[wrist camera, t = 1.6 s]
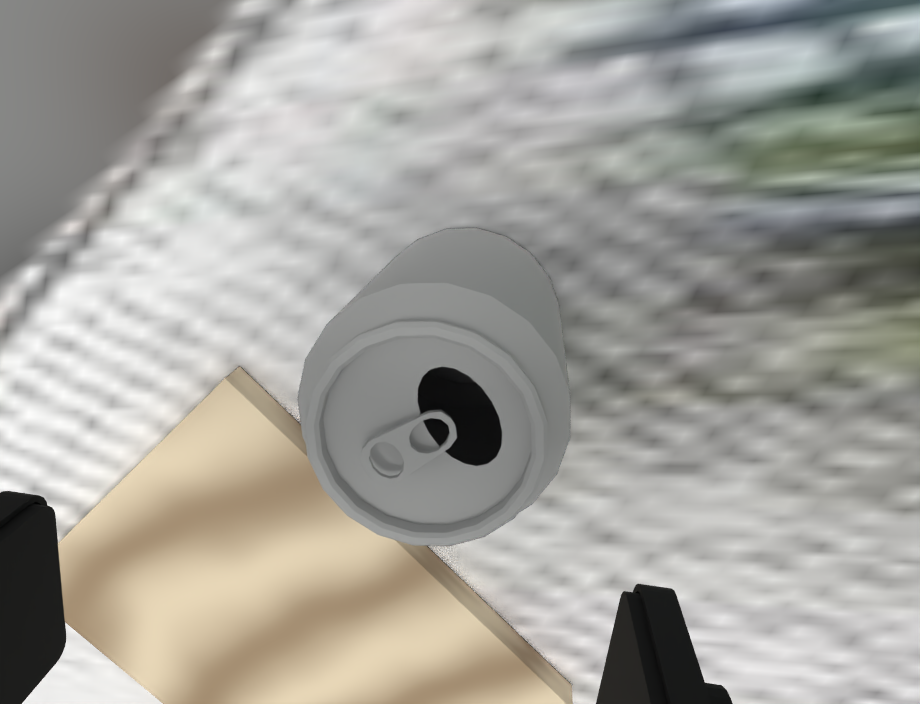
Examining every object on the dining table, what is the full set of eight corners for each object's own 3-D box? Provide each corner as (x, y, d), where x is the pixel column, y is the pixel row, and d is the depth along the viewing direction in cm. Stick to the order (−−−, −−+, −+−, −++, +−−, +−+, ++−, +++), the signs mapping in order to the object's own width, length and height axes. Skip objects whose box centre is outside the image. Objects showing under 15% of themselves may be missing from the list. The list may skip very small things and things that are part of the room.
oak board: (571, 685, 34) (572, 709, 32) (349, 826, 38) (342, 853, 37) (239, 366, 30) (224, 378, 29) (39, 564, 35) (18, 582, 33)
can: (591, 352, 28) (628, 506, 17) (435, 427, 30) (375, 612, 19) (504, 188, 27) (480, 239, 15) (343, 279, 29) (217, 384, 17)
